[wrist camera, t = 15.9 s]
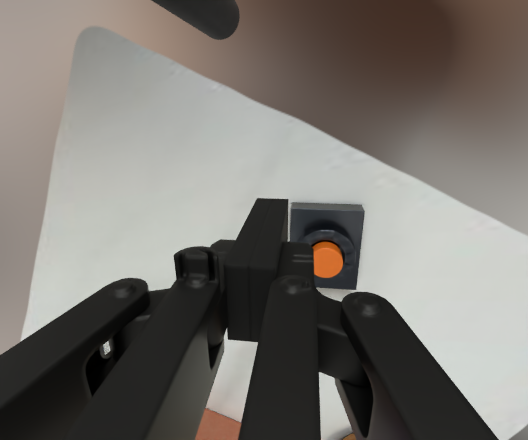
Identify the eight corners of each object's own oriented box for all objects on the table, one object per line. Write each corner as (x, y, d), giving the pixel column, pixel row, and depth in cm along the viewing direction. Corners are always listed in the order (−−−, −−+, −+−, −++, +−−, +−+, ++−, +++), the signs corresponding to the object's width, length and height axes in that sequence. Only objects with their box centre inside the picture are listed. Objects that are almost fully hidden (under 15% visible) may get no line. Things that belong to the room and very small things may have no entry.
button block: (291, 202, 38) (289, 213, 34) (361, 204, 37) (367, 216, 33) (290, 276, 41) (288, 293, 38) (353, 280, 40) (358, 298, 37)
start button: (309, 240, 35) (309, 247, 34) (342, 242, 35) (344, 249, 33) (308, 269, 37) (308, 277, 35) (340, 271, 36) (341, 279, 34)
